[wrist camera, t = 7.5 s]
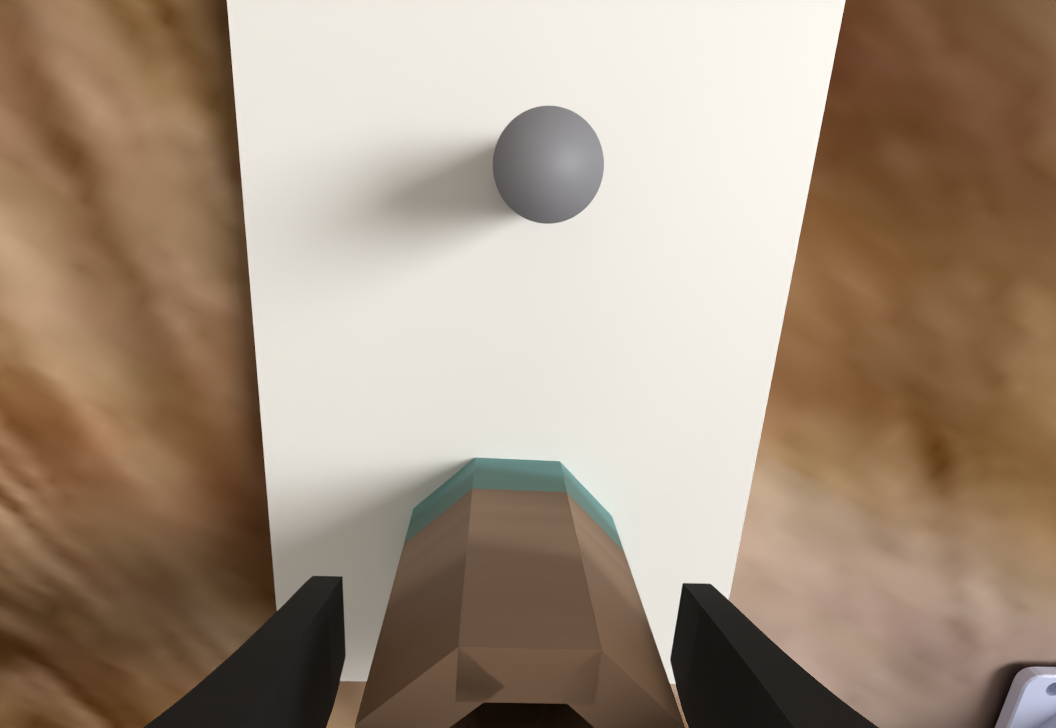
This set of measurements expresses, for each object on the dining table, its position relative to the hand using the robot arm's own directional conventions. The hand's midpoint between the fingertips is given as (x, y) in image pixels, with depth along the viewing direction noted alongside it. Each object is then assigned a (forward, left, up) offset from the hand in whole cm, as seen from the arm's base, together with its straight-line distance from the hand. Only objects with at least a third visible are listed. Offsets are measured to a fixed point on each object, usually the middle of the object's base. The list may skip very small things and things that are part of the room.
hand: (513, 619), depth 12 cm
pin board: (0, -4, -4) cm, 6 cm away
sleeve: (0, 0, -3) cm, 3 cm away
